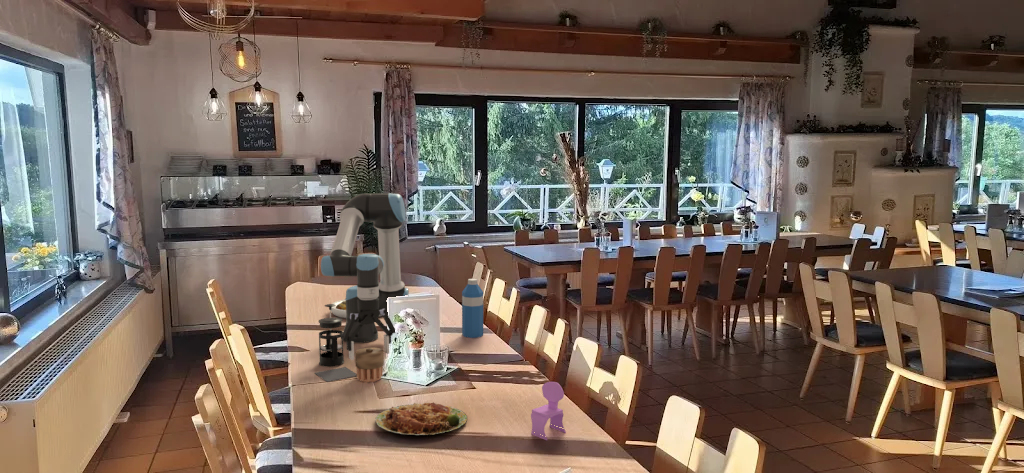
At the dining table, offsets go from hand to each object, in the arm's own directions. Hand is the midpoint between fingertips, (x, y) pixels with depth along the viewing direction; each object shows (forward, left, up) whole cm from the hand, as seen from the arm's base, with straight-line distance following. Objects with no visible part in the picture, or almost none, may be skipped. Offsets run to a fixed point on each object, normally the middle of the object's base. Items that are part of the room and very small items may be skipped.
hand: (369, 356), depth 260 cm
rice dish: (+47, -5, -9) cm, 48 cm away
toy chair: (+76, +21, -9) cm, 79 cm away
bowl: (-96, +40, -9) cm, 104 cm away
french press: (-25, -4, -8) cm, 27 cm away
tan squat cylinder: (0, 0, -3) cm, 3 cm away
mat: (-11, -8, -8) cm, 16 cm away
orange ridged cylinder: (0, 0, -8) cm, 8 cm away
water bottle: (-29, +63, -8) cm, 70 cm away
